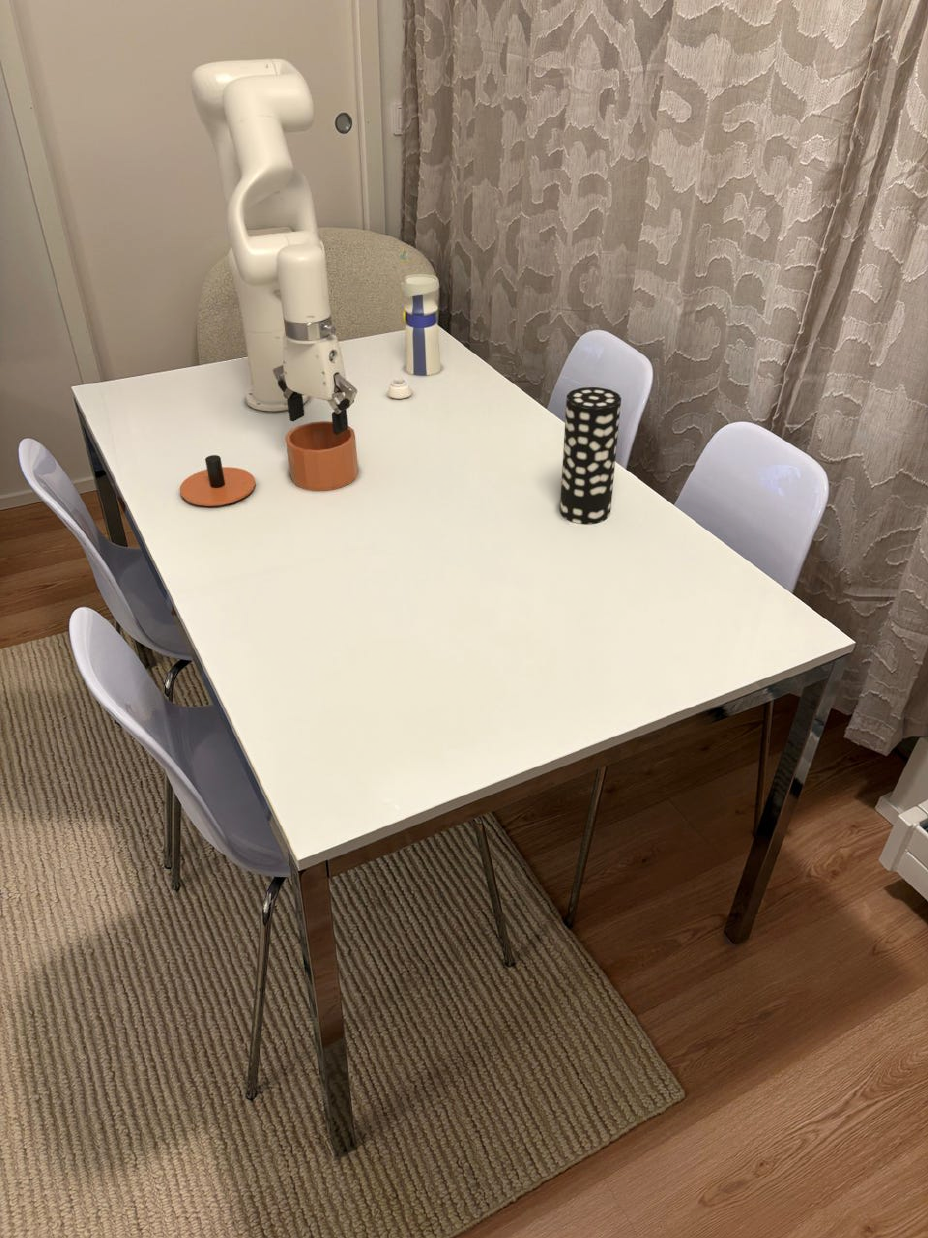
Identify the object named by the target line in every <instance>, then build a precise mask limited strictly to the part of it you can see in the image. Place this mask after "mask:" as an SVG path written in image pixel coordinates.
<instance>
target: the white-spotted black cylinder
mask: <svg viewBox="0 0 928 1238" xmlns="http://www.w3.org/2000/svg"><path fill="white" fill-rule="evenodd" d="M621 405H622V397H621V395H620V394H619V393H618V392H616V391H614V390H612V389H610V388H605V387H601V386H600V387H599V386H585V387H579V388H575V389H573V390H571V391H569V392H568V393H567V395H566V402H565V415H564V416H565V419H564V432H563V433H564V434H563V435H564V436H563V451H562V467H561V468H562V470H561V482H560V483H561V486H560V500H559V513H560V515H561V517H563V518H564V519H565V520H567V521H569V522H572V523H575V524H579V525H594V524H599V523H602V522H604V521H606V520H607V519H608V518H609V517H610V515H611V509H612V498H613V488H614V478H615V477H614V476H615V468H616V458H617V457H616V456H617V447H618V439H619V438H618V437H619V427H620V426H619V425H620V418H621V417H620V415H621V407H622V406H621Z"/></svg>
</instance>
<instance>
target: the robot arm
mask: <svg viewBox="0 0 928 1238" xmlns="http://www.w3.org/2000/svg"><path fill="white" fill-rule="evenodd" d="M190 89H191V94H192V98H193V102H194V106H195V109H196V112H197V114H198V117H199V119H200V121H201V123H202V124H203V126H204V129H205V131H206V132H207V135H208V136H209V138H210V141H211V143H212V146H213V148H214V151H215V155H216V161H217V167H218V173H219V178H220V183H221V189H222V195H223V198H224V204H225V208H226V209H225V210H226V228H227V234H228V239H229V242H230V246H231V247H230V249H229V250H228V252H227V253H228V254H227V263H228V264H227V265H228V269H229V272H230V275H231V279H232V282H233V286H234V289H235V292H236V296H237V301H238V305H239V311H240V316H241V322H242V328H243V336H244V342H245V348H246V357H247V362H248V369H249V375H250V381H251V387H252V388H251V389H250V390H249V391H248V392H247V393H246V396H245V401H246V404H247V405H248V406H249V408H252V409H254V410H257V411H261V412H268V413H269V412H271V413H274V412H285V411H288V417H289V421H290V422H295V421H297V420H299V419H301V418H302V417H303V418H304V416H305V406H304V404H306V402H307V401H308V399H309V397H311V398H315V399H318V400H322V401H327V403H328V404H329V406H330V408H332V410H333V412H331V422H332V424H333V433H334V434H335V435H339V434H340V433H342V432H344V431H345V430H347V429H348V426H349V422H348V420H349V419H348V409H349V408H350V407H351V406H352V404H354V402H355V399H356V396H357V393H358V389H357V388H356V387H355V386H354V385H353V384H352V383H350V382H349V381H348V380H347V377H346V370H345V364H344V359H343V354H342V350H341V349H342V348H341V346H340V342H339V340H338V337H337V335H336V334H335V333H336V330H337V329H336V326H335V325H332V313H331V304H330V291H329V281H328V271H327V270H328V269H327V260H326V251H325V246H324V244H323V243H324V242H323V241H322V240H321V239H320V235H319V227H318V222H317V216H316V215H317V213H316V209H315V202H314V197H313V192H312V189H311V185H310V183H309V181H308V179H307V178H306V176H305V175H304V174H303V173H302V172H300V171H298V170H295V169H294V164H293V160H292V158H291V154H290V150H289V147H288V146H289V145H288V143H287V139H286V136H285V133H286V134H287V133H297V132H306V131H308V130H310V129H311V127H312V126H313V124H314V122H315V103H314V98H313V95H312V92H311V89H310V87H309V85H308V83H307V81H306V79H305V78H304V76H303V75H302V73H300V71H299V70H298V69H297V68H296V67H295V66H294V65H293V64H292V63H291V62H290V61H288V60H286V59H283V58H257V59H235V60H234V59H233V60H232V59H231V60H221V61H213V62H208V63H204V64H202V65H199V66H198V67H196V68H194V70H193V71H192V73H191V77H190ZM284 227H286V228H289V229H290V231H291V232H278V233H270V234H269V233H268V234H261V235H260V234H259V235H253V236H252V235H251V236H250V235H249V233H248V231H258V230H260V231H261V230H268V229H277V228H284ZM276 292H279V295H280V297H279V296H278V295H277V294H276ZM336 399H337V400H338V402H339V403H338V402H337V400H336Z"/></svg>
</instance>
